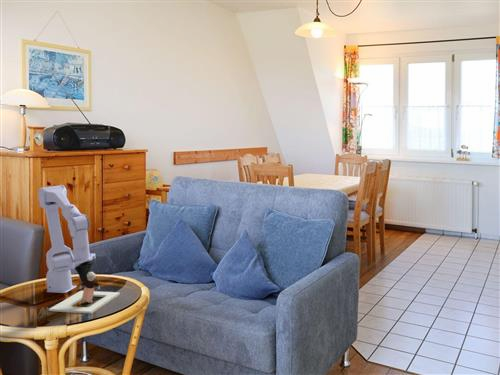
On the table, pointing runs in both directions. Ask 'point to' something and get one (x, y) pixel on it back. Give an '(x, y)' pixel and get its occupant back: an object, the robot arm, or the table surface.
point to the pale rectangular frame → (67, 304)
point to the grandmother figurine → (89, 288)
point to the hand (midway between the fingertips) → (84, 281)
